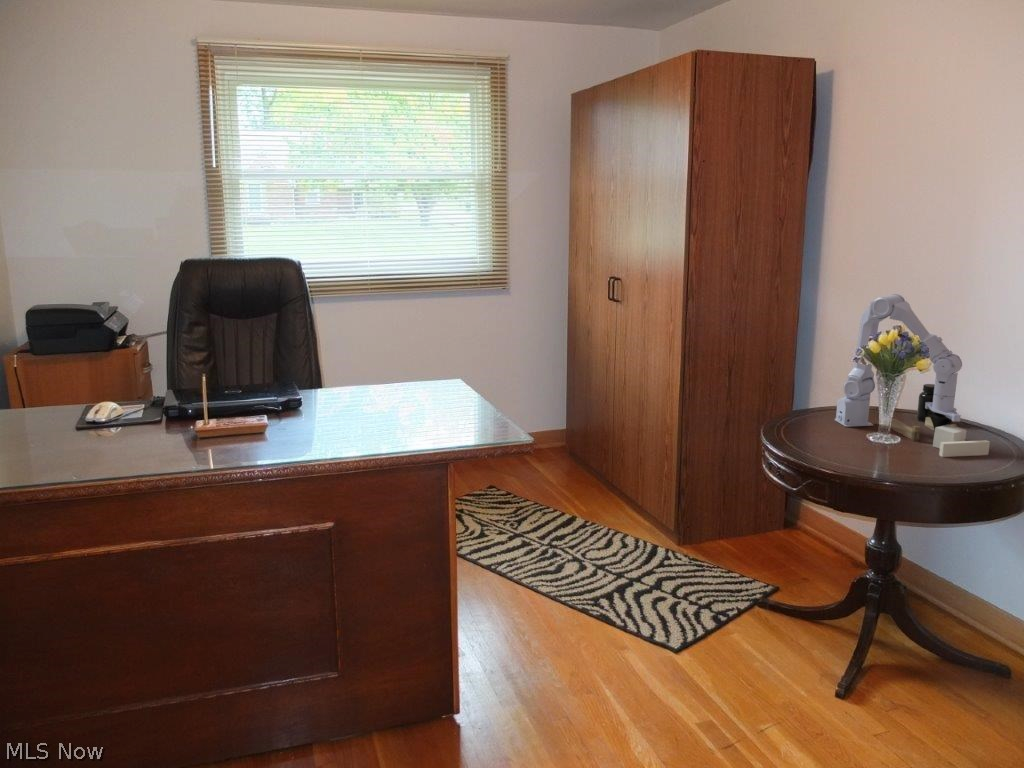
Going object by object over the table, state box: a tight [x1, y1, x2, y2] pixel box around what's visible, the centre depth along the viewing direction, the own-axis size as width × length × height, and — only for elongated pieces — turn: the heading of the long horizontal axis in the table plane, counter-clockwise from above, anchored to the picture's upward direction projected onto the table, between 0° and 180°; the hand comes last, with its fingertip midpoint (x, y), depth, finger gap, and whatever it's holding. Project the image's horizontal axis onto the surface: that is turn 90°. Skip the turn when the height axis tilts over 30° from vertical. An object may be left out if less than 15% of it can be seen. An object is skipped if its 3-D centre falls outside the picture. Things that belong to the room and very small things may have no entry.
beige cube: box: [932, 424, 968, 450], centre depth 236 cm, size 6×6×6 cm
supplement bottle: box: [916, 383, 935, 423], centre depth 263 cm, size 7×7×12 cm
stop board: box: [938, 439, 991, 458], centre depth 230 cm, size 14×2×4 cm, turn 95°
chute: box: [890, 417, 958, 442], centre depth 250 cm, size 14×14×4 cm
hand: (939, 437), depth 242 cm, fingers closed
